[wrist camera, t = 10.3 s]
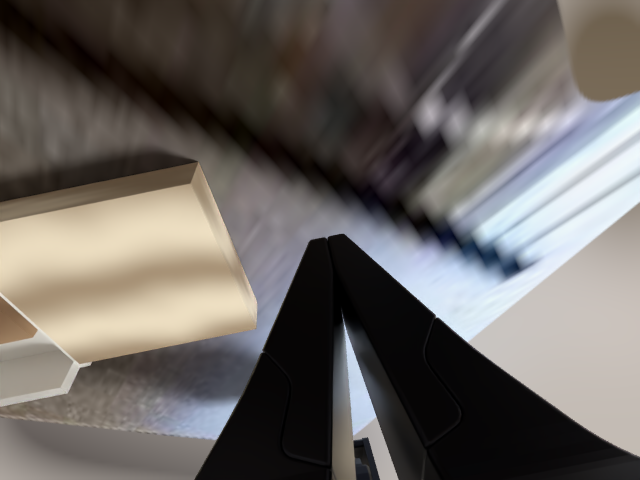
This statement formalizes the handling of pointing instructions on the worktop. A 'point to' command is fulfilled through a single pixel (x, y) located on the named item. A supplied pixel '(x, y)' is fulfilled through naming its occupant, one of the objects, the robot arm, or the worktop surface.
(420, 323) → the robot arm
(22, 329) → the walnut tile
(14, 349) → the box
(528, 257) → the worktop surface
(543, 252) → the worktop surface
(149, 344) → the birch plate
